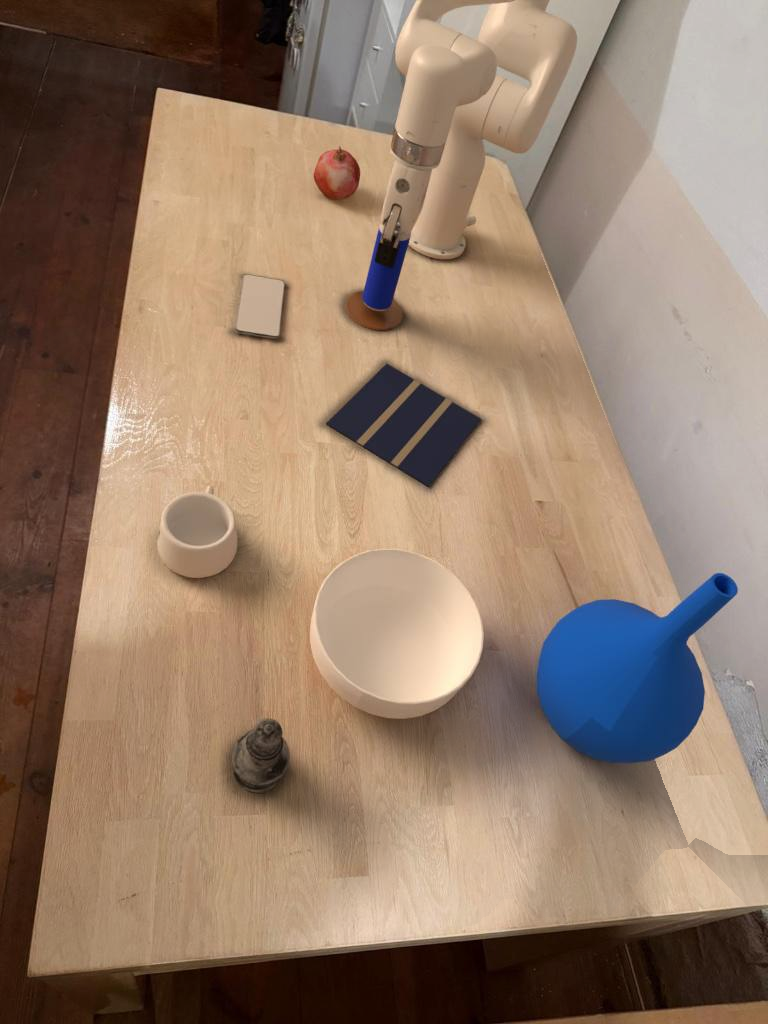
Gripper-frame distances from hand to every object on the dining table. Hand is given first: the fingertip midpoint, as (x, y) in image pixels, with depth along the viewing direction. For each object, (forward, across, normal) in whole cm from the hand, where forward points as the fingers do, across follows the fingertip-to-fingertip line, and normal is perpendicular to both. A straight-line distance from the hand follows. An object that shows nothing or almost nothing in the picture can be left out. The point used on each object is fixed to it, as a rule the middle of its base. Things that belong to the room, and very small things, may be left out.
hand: (389, 254), depth 120 cm
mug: (+12, -56, +7) cm, 58 cm away
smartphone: (+12, -10, +17) cm, 23 cm away
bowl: (+12, -62, -20) cm, 66 cm away
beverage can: (+10, 0, 0) cm, 10 cm away
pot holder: (+12, -23, -12) cm, 29 cm away
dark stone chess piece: (+12, -80, -10) cm, 82 cm away
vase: (+12, -60, -45) cm, 76 cm away
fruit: (+12, +31, +18) cm, 38 cm away
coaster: (+12, 0, 0) cm, 12 cm away
